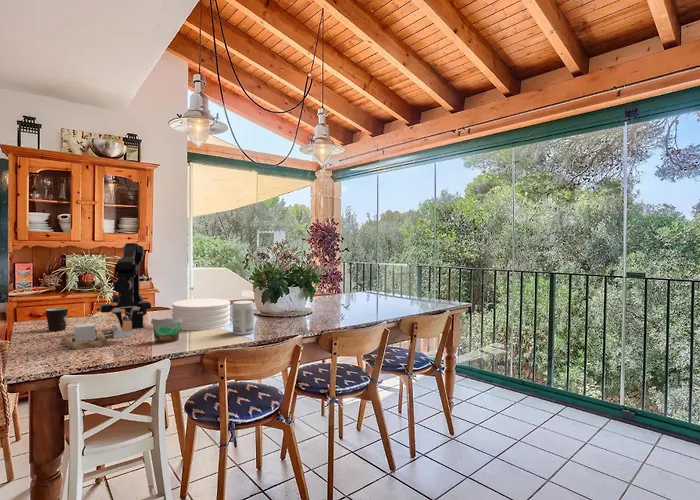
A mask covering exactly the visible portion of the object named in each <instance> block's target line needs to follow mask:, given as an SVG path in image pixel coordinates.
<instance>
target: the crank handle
mask: <svg viewBox="0 0 700 500" xmlns="http://www.w3.org/2000/svg"><path fill="white" fill-rule="evenodd" d="M120 327H121V326H120ZM121 329H122V330H123V332H128V331H132V332H133V329H132V321H131V320H130V319H129V318H128V316H125V315H124V316H122V327H121Z"/></svg>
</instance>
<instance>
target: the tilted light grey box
mask: <svg viewBox="0 0 700 500" xmlns="http://www.w3.org/2000/svg"><path fill="white" fill-rule="evenodd" d="M74 340H75V343H79V342H87V341H96V325H95V323H94V322H88V323H78V324H74Z"/></svg>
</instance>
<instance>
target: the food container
mask: <svg viewBox="0 0 700 500" xmlns="http://www.w3.org/2000/svg"><path fill="white" fill-rule="evenodd" d="M180 322H182V318H181V317H180V318H176V319H172V318H168V317H167V318H163V319H154V318H152V319H151V322H150V324H151V325H152V327H153V328H152V329H153V337H154V342H155V343H157V344H169V343H175V342H178V341H179V339H180V331H181V330H180Z"/></svg>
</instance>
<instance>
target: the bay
mask: <svg viewBox="0 0 700 500" xmlns="http://www.w3.org/2000/svg"><path fill="white" fill-rule="evenodd" d="M102 332H103V331H102V330H99V331H97V332H96V333H97V334H96V335H97V339H98V340H90V341H82V342H75V343H74V342H73V339H72V335H71V334H65V335H66V337H65V340H66V344H67V347H68V348H67V349H68V350H76V349H85V348H93V347H100V346H107V344H108V340H107V338H106V335H103V333H102Z"/></svg>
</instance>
